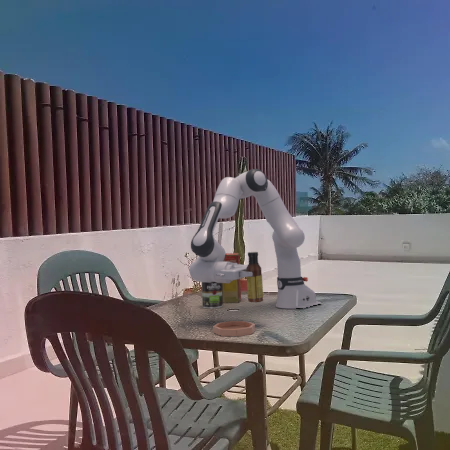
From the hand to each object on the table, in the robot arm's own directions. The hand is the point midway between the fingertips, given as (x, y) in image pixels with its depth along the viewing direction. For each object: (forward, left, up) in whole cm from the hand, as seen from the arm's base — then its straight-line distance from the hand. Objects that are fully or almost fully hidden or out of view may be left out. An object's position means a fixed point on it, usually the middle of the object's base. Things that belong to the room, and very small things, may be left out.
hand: (256, 273), depth 193 cm
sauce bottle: (+1, -1, -12) cm, 12 cm away
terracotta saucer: (+13, +3, -21) cm, 25 cm away
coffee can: (-5, -51, -21) cm, 56 cm away
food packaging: (-21, -60, -21) cm, 67 cm away
